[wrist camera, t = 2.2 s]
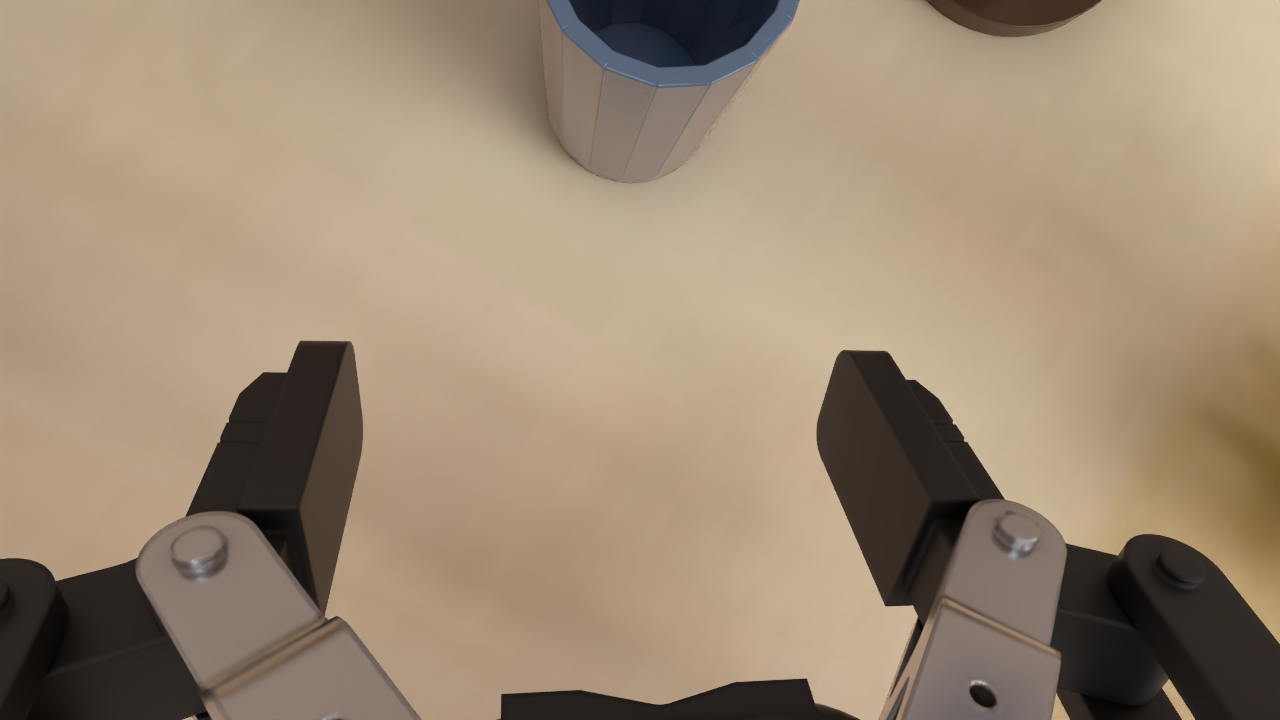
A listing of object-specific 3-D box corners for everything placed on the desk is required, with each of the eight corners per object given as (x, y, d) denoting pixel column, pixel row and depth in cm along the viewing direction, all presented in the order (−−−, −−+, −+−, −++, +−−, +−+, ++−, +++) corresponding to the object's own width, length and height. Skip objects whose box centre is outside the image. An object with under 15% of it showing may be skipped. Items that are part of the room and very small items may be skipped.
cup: (512, 106, 29) (474, -47, 17) (620, -20, 29) (658, -258, 17) (638, 217, 30) (688, 143, 18) (744, 93, 30) (863, -62, 18)
